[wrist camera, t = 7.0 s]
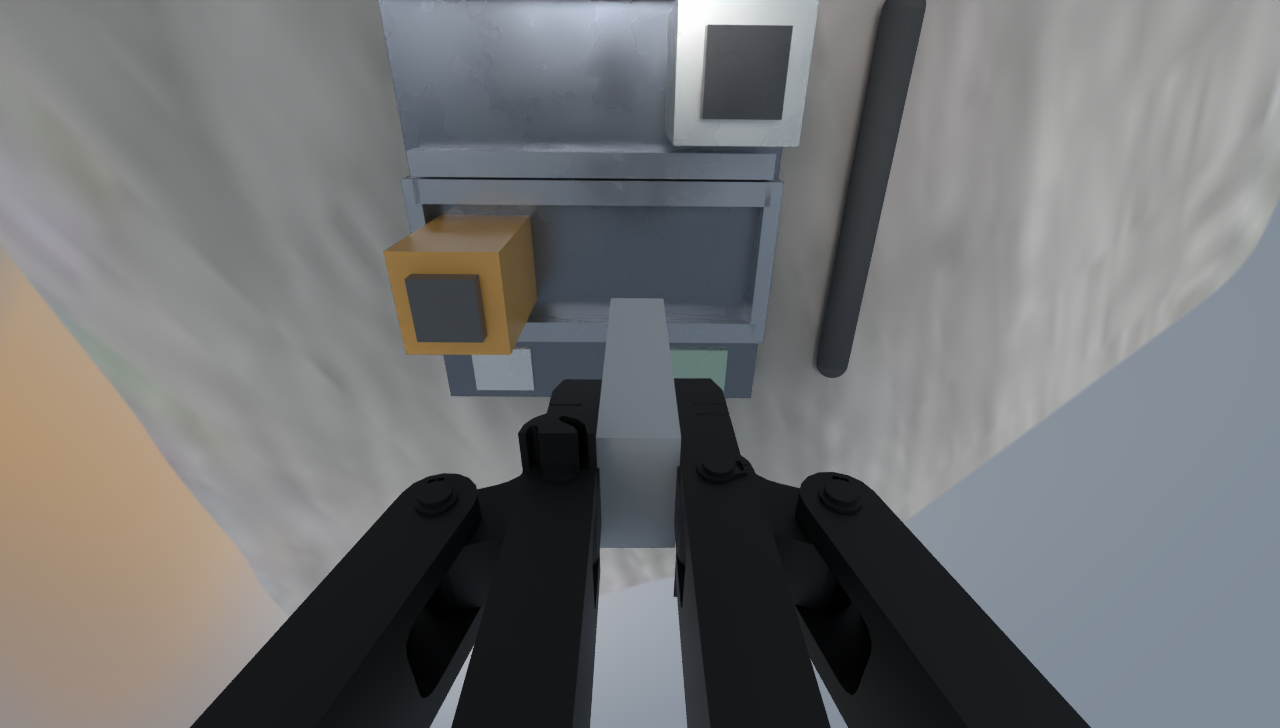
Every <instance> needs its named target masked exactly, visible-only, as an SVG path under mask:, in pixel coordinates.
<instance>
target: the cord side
mask: <svg viewBox="0 0 1280 728" xmlns="http://www.w3.org/2000/svg"><path fill="white" fill-rule="evenodd" d="M925 8H926V0H886V1H885V3H884V5H883V9H882V13H881V18H880V24H879V29H878V34H877V40H876V45H875V51H874V56H873V61H872V67H871V72H870V77H869V83H868V88H867V94H866V99H865V104H864V110H863V115H862V120H861V126H860V131H859V137H858V142H857V147H856V153H855V158H854V163H853V169H852V174H851V180H850V185H849V190H848V196H847V201H846V206H845V212H844V217H843V223H842V228H841V233H840V239H839V244H838V249H837V255H836V260H835V266H834V271H833V276H832V282H831V287H830V292H829V298H828V303H827V309H826V314H825V319H824V325H823V330H822V335H821V341H820V346H819V352H818V357H817V368H818V370H819V372H820V373H821V374H822V375H824V376H826V377H829V378H836V377H839V376H841V375H842V374H843V373H844V372H845V371H846V369H847V366H848V362H849V357H850V353H851V348H852V344H853V339H854V335H855V330H856V325H857V321H858V316H859V312H860V307H861V302H862V298H863V293H864V289H865V284H866V279H867V275H868V270H869V266H870V261H871V257H872V252H873V247H874V243H875V238H876V234H877V229H878V224H879V220H880V215H881V211H882V206H883V201H884V197H885V192H886V188H887V183H888V179H889V174H890V169H891V165H892V160H893V156H894V151H895V146H896V142H897V137H898V133H899V128H900V123H901V119H902V114H903V110H904V105H905V100H906V96H907V91H908V87H909V82H910V78H911V73H912V68H913V64H914V59H915V55H916V50H917V45H918V41H919V36H920V32H921V27H922V22H923V18H924V13H925Z"/></svg>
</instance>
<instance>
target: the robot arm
mask: <svg viewBox="0 0 1280 728" xmlns="http://www.w3.org/2000/svg"><path fill="white" fill-rule="evenodd" d="M518 436H519V444H520V452H521V460H522V468H523V472H522V474H521V475H520V476H519V477H517V478H515V479H513V480H511V481H508V482H505V483H502V484H499V485H495V486H490V487H486V488H482V489H477V488H476V485H475V484H474V483H473V482H472V481H471V480H470V479H469V478H468V477H465V476H462V475H459V474H445V473H443V474H438V475H434V476H429V477H426V478H424V479H422V480H420V481H418V482H416V483H413V484H412V485H411V486H410V487H409V488H407V489H406V490H405V491H404V492H402V493H401V495H400V496H399V497H398V498H397V499H396V500H395V501H394V502H393V503H392V505H391V506H390V507H389V508H388V509H387V510H386V511H385V512H384V513H383V514H382V516H381V517H380V518H379V519H378V520H377V521H376V522H375V523H374V524H373V526H372V527H371V528H370V529H369V530H368V531H367V532H366V533H365V534H364V536H363V537H362V538H361V539H360V540H359V541H358V542H357V543H356V544H355V545H354V547H353V548H352V549H351V550H350V551H349V552H348V553H347V554H346V555H345V557H344V558H343V559H342V560H341V561H340V562H339V563H338V564H337V565H336V566H335V568H334V569H333V570H332V571H331V572H330V573H329V574H328V575H327V576H326V578H325V579H324V580H323V581H322V582H321V583H320V584H319V585H318V586H317V588H316V589H315V590H314V591H313V592H312V593H311V594H310V595H309V596H308V597H307V599H306V600H305V601H304V602H303V603H302V604H301V605H300V606H299V607H298V609H297V610H296V611H295V612H294V613H293V614H292V615H291V616H290V617H289V618H288V620H287V621H286V622H285V623H284V624H283V625H282V626H281V627H280V628H279V630H278V631H277V632H276V633H275V634H274V635H273V636H272V637H271V638H270V640H269V641H268V642H267V643H266V644H265V645H264V646H263V647H262V648H261V649H260V651H259V652H258V653H257V654H256V655H255V656H254V657H253V658H252V659H251V661H250V662H249V663H248V664H247V665H246V666H245V667H244V668H243V670H242V671H241V672H240V673H239V674H238V675H237V676H236V677H235V678H234V679H233V680H232V682H231V683H230V684H229V685H228V686H227V687H226V688H225V689H224V690H223V692H222V693H221V694H220V695H219V696H218V697H217V698H216V699H215V700H214V701H213V703H212V704H211V705H210V706H209V707H208V708H207V709H206V710H205V711H204V713H203V714H202V715H201V716H200V717H199V718H198V719H197V720H196V721H195V723H194V724H193V725H192V726H191V727H190V728H430V726H431V724H432V722H433V720H434V718H435V716H436V715H437V713H438V711H439V709H440V707H441V705H442V703H443V702H444V700H445V698H446V696H447V694H448V692H449V690H450V688H451V686H452V685H453V683H454V681H455V679H456V677H457V675H458V674H459V672H460V670H461V668H462V666H463V664H464V662H465V661H466V659H467V657H468V654H469V653H470V651H471V649H472V647H473V646H474V648H473V652H472V655H471V659H470V662H469V666H468V669H467V673H466V677H465V680H464V684H463V687H462V691H461V695H460V698H459V703H458V706H457V709H456V713H455V716H454V720H453V723H452V727H451V728H590V717H591V703H592V688H593V673H594V658H595V657H594V656H595V642H596V628H597V626H596V625H597V613H598V597H599V582H600V548H675V540H676V566H675V582H674V583H675V584H674V597H677V599H678V611H679V625H680V638H681V649H682V650H681V651H682V663H683V676H684V688H685V701H686V715H687V727H688V728H831V727H830V724H829V721H828V717H827V714H826V711H825V707H824V704H823V700H822V697H821V694H820V690H819V687H818V683H817V680H816V677H815V673H814V670H813V667H812V663H811V660H812V662H813V664H814V666H815V668H816V670H817V671H818V673H819V675H820V677H821V679H822V680H823V682H824V684H825V686H826V688H827V690H828V692H829V693H830V695H831V697H832V699H833V700H834V702H835V704H836V706H837V708H838V710H839V712H840V713H841V715H842V717H843V719H844V720H845V722H846V724H847V726H848V728H1091V727H1090V726H1089V725H1088V724H1087V723H1086V722H1085V721H1084V720H1083V719H1082V717H1081V716H1080V715H1079V714H1078V713H1077V712H1076V711H1075V710H1074V709H1073V708H1072V706H1070V704H1069V703H1068V702H1067V701H1066V700H1065V699H1064V698H1063V697H1062V696H1061V694H1060V693H1059V692H1058V691H1057V690H1056V689H1055V688H1054V687H1053V686H1052V685H1051V684H1050V683H1049V682H1048V680H1047V679H1046V678H1045V677H1044V676H1043V675H1042V674H1041V673H1040V672H1039V671H1038V669H1037V668H1036V667H1034V665H1033V664H1032V663H1031V662H1030V661H1029V660H1028V659H1027V658H1026V656H1025V655H1024V654H1023V653H1022V652H1021V651H1020V650H1019V649H1018V648H1017V647H1016V645H1015V644H1014V643H1013V642H1012V641H1011V640H1010V639H1009V638H1008V637H1007V636H1006V635H1005V633H1004V632H1003V631H1002V630H1001V629H1000V628H999V627H998V626H997V625H996V624H995V623H994V622H993V620H992V619H991V618H990V617H989V616H988V615H987V614H986V613H985V612H984V611H983V610H982V609H981V607H980V606H979V605H978V604H977V603H976V602H975V601H974V600H973V599H972V598H971V596H970V595H969V594H968V593H967V592H966V591H965V590H964V589H963V588H962V587H961V586H960V584H959V583H958V582H957V581H956V580H955V579H954V578H953V577H952V576H951V575H950V574H949V573H948V571H947V570H946V569H945V568H944V567H943V566H942V565H941V564H940V563H939V562H938V561H937V559H936V558H935V557H933V555H932V554H931V553H930V552H929V551H928V550H927V549H926V548H925V546H924V545H923V544H922V543H921V542H920V541H919V540H918V539H917V538H916V537H915V535H913V533H912V532H911V531H910V530H909V529H908V528H907V527H906V526H905V525H904V523H903V522H902V521H901V520H900V519H899V518H898V517H897V516H896V515H895V514H894V513H893V511H892V510H891V509H890V508H889V507H888V506H887V505H886V504H885V503H884V502H883V501H882V499H881V498H880V497H879V496H878V495H877V494H876V493H875V492H874V491H873V490H872V489H871V488H869V487H868V486H867V485H866V484H864V483H863V482H861V481H859V480H857V479H855V478H853V477H851V476H849V475H844V474H840V473H835V472H819V473H816V474H813V475H811V476H808V477H807V478H806V479H805V480H804V481H803V482H802V483H801V487H800V488H796V487H792V486H788V485H783V484H779V483H776V482H773V481H769V480H767V479H765V478H763V477H761V476H759V475H757V474H756V473H755V471H754V469H753V467H752V466H751V464H750V462H749V461H748V460H746V459H745V458H744V457H742V456H741V455H740V451H739V448H738V444H737V441H736V437H735V433H734V430H733V426H732V423H731V419H730V416H729V412H728V408H727V405H726V401H725V397H724V394H723V390H722V389H721V388H720V387H719V386H718V385H717V384H716V383H715V382H714V381H713V380H712V379H711V378H673V370H672V362H671V354H670V346H669V338H668V331H667V323H666V315H665V307H664V299H663V298H611V302H610V311H609V321H608V330H607V340H606V349H605V358H604V368H603V377H602V379H564V380H563V381H562V382H561V383H560V384H559V385H558V386H557V387H556V388H555V389H554V390H553V392H552V396H551V399H550V403H549V407H548V411H547V414H544V415H541V416H538V417H535V418H533V419H531V420H530V421H529V422H527V423H526V424H524V425H523V427H522V428H521V430H520V431H519V433H518ZM810 659H811V660H810Z"/></svg>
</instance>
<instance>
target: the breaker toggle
mask: <svg viewBox="0 0 1280 728" xmlns="http://www.w3.org/2000/svg"><path fill="white" fill-rule="evenodd" d="M383 252H384V256H385V261H386V265H387V270H388V274H389V279H390V283H391V288H392V292H393V297H394V301H395V306H396V310H397V315H398V319H399V324H400V329H401V333H402V338H403V342H404V347H405V351H406V354H444V355H511V353H512V351H513V349H514V347H515V345H516V343H517V341H518V339H519V337H520V334H521V332H522V330H523V328H524V326H525V324H526V322H527V320H528V318H529V316H530V314H531V312H532V309H533V307H534V305H535V303H536V301H537V291H536V279H535V268H534V256H533V245H532V233H531V222H530V216H508V215H440V216H438V217H437V218H435V219H434V220H432V221H431V222H429V223H427V224H426V225H424V226H423V227H421V228H420V229H418V230H416V231H415V232H413V233H412V234H410V235H409V236H407V237H405V238H404V239H402V240H401V241H399V242H398V243H396V244H394V245H393V246H391V247H390V248H388V249H387V250H385V251H383Z"/></svg>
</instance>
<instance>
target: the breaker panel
mask: <svg viewBox="0 0 1280 728" xmlns="http://www.w3.org/2000/svg"><path fill="white" fill-rule="evenodd" d="M378 2H379V7H380V13H381V18H382V24H383V29H384V35H385V40H386V45H387V51H388V56H389V62H390V67H391V72H392V78H393V83H394V89H395V94H396V100H397V105H398V110H399V116H400V121H401V127H402V132H403V138H404V143H405V148H406V154H407V159H408V165H409V170H410V176H407V177H405V178H402V179H401V184H402V190H403V195H404V200H405V205H406V210H407V215H408V221H409V226H410V231H411V234H412V233H413V232H415V231H416V230H418V229H420V228H421V227H423V226H424V225H426V224H427V223H429V222H431V221H432V220H434V219H435V218H437V217H438V216H440V215H508V216H530V222H531V233H532V245H533V256H534V268H535V279H536V291H537V301H536V303H535V305H534V307H533V309H532V312H531V314H530V316H529V318H528V320H527V322H526V324H525V326H524V328H523V330H522V332H521V334H520V337H519V339H518V341H517V343H516V345H515V347H514V349H513V351H512V353H511V355H444V360H445V365H446V371H447V376H448V381H449V387H450V392H451V396H530V397H551V396H552V392H553V390H554V389H555V388H556V387H557V386H558V385H559V384H560V383H561V382H562V381H563V380H564V379H602V377H603V368H604V358H605V349H606V340H607V330H608V321H609V311H610V302H611V298H663V299H664V307H665V315H666V323H667V331H668V338H669V346H670V354H671V362H672V370H673V378H711V379H712V380H713V381H714V382H715V383H716V384H717V385H718V386H719V387H720V388H721V389H722V390H723V394H724V397H725V398H751V391H752V383H753V375H754V367H755V359H756V351H757V343H763V338H764V330H765V322H766V315H767V307H768V299H769V292H770V284H771V276H772V269H773V261H774V253H775V246H776V238H777V230H778V222H779V215H780V207H781V199H782V192H783V184H784V182H782V181H781V180H779V179H778V175H779V167H780V159H781V151H782V147H799V141H800V134H801V127H802V119H803V112H804V105H805V98H806V91H807V83H808V76H809V69H810V62H811V55H812V47H813V40H814V33H815V26H816V18H817V11H818V4H819V0H378Z"/></svg>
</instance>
